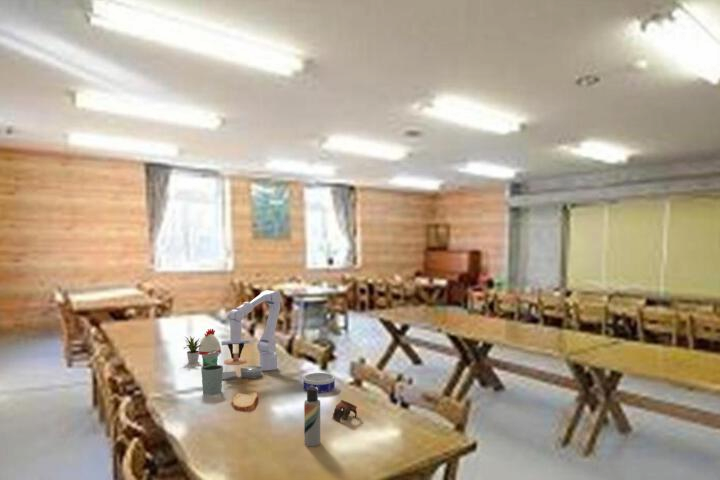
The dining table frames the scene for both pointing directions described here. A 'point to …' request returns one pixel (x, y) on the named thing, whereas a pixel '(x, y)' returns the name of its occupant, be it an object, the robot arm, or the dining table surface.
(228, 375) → the mat
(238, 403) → the bread slice
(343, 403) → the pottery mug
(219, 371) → the embossed green pot
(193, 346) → the house plant
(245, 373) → the bowl
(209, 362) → the food container
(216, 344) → the cream domed piece
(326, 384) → the dog bowl
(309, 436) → the lotion bottle
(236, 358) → the lid
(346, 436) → the dining table surface
